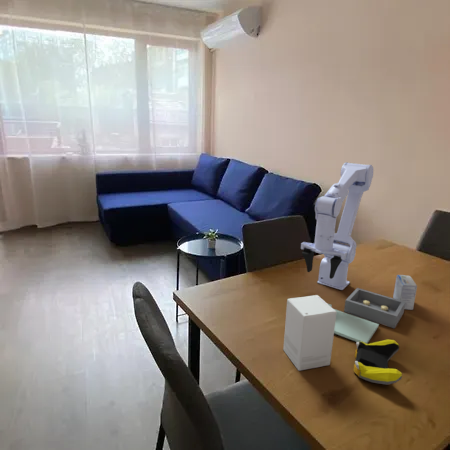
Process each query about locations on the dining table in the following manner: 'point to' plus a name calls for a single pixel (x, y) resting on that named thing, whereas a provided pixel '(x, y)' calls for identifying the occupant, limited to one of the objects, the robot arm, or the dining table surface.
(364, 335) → the lid
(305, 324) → the supplement box
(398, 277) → the medicine box
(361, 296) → the tub
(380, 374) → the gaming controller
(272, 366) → the dining table surface
